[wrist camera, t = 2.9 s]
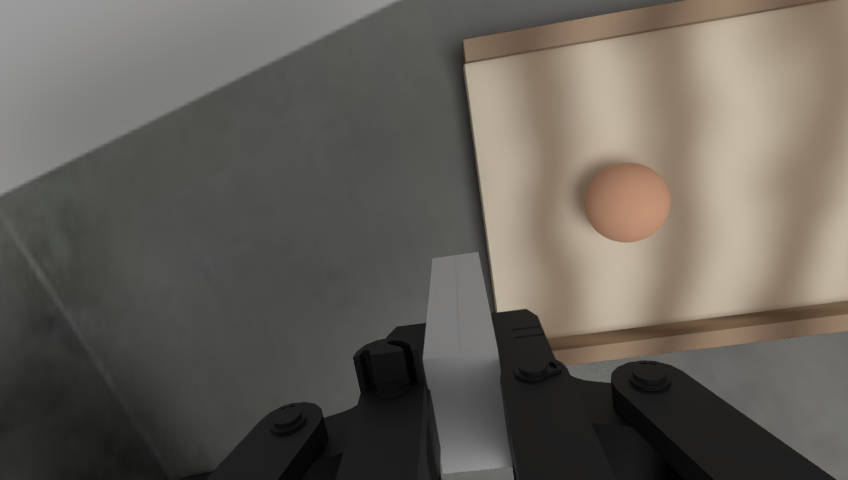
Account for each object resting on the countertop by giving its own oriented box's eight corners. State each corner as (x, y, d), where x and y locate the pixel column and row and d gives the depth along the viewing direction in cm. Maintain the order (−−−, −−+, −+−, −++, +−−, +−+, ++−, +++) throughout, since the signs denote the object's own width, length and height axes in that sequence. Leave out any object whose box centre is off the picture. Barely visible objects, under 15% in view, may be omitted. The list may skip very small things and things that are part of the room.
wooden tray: (499, 340, 32) (509, 382, 27) (460, 48, 27) (464, 36, 22) (1017, 273, 29) (1130, 306, 25) (1071, -59, 25) (1221, -98, 20)
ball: (578, 236, 27) (601, 257, 23) (572, 165, 26) (595, 175, 22) (652, 225, 27) (687, 245, 23) (649, 153, 26) (685, 161, 22)
